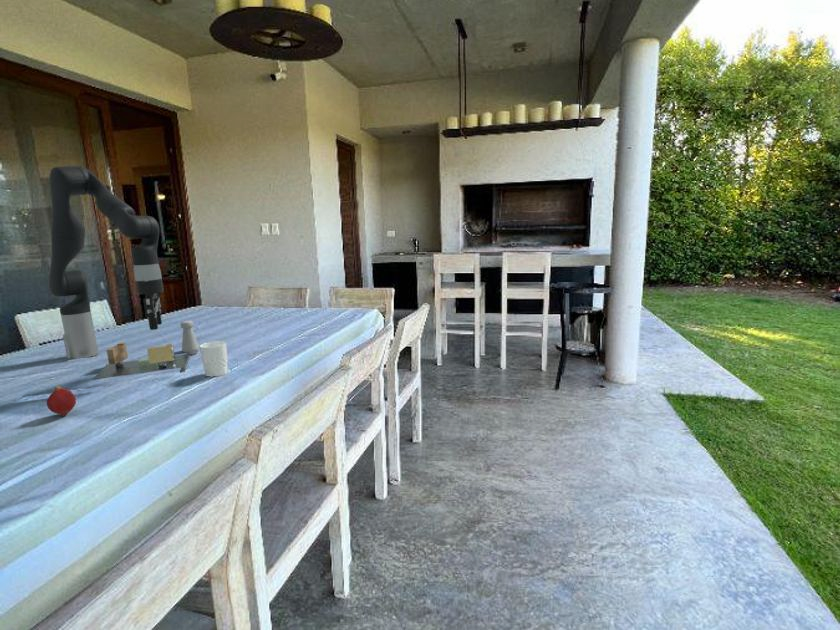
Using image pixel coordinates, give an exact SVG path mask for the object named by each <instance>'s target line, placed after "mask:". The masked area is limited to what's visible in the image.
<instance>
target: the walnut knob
mask: <svg viewBox="0 0 840 630" xmlns="http://www.w3.org/2000/svg"><path fill="white" fill-rule="evenodd" d="M126 344H127V343H126V342H118V343H117V344H116V345H115V346H112V347H109V348H108V349H106V355H107V360H108V364H115V367H122V366H124V364H123V362H124V360H126V359H128V358H129V357H128V350H127V345H126Z"/></svg>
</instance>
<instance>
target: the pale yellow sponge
mask: <svg viewBox="0 0 840 630" xmlns="http://www.w3.org/2000/svg"><path fill="white" fill-rule="evenodd" d="M146 350H147V358H149V364H150V363H158V367H166V366H167V365H166V361H173V360H174V357H173V350H172V343H167V344H166V345H161V346H160V345H159V346H151V347H147V348H146Z"/></svg>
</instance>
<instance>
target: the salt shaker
mask: <svg viewBox="0 0 840 630" xmlns="http://www.w3.org/2000/svg"><path fill="white" fill-rule="evenodd" d="M179 325H180V328H182V340H181V351H182V352H183V353H186V354H190V355H191V356H195V355H197V354H198V352H199V350H200V347H199V346H200V345H199V343H198V340H197V337H196V334H195V332H194V329H193V327H194V322H193V321H192V320H184V321H181V323H179Z"/></svg>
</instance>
